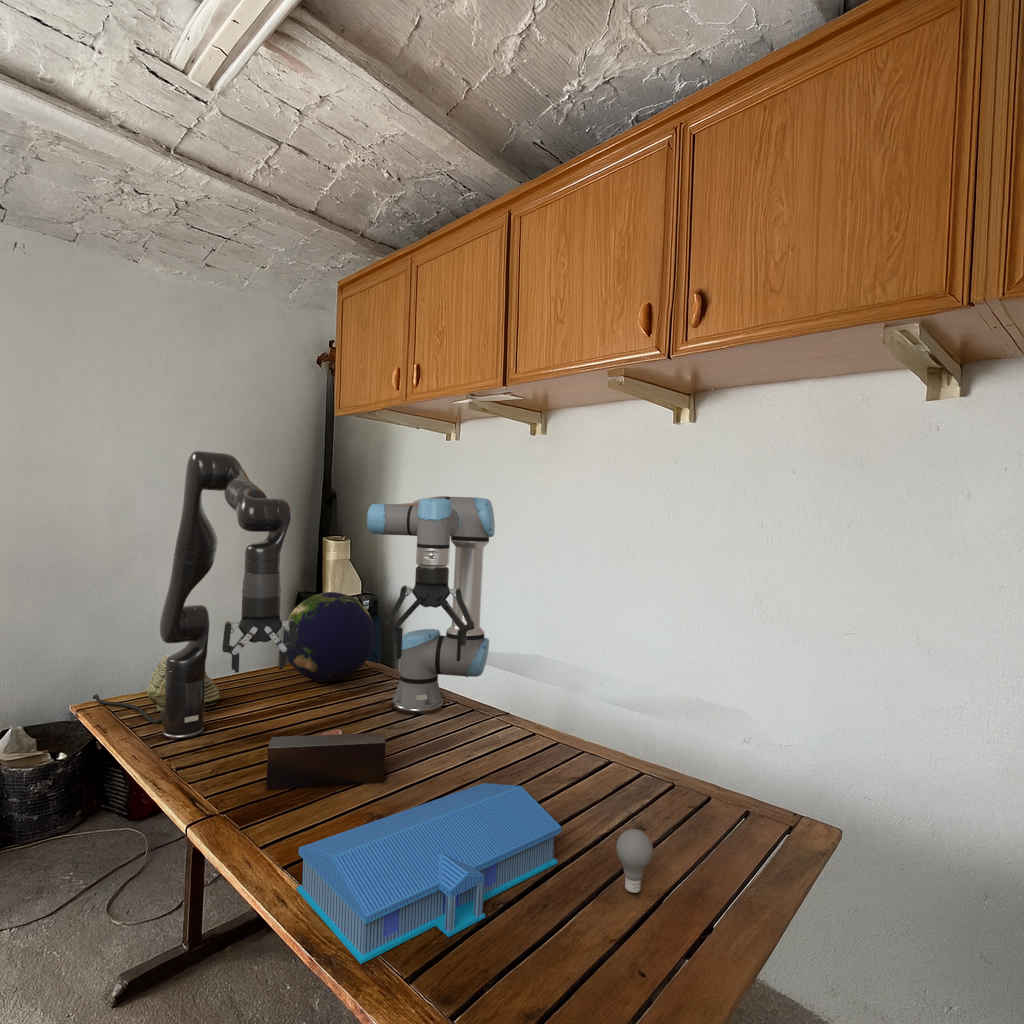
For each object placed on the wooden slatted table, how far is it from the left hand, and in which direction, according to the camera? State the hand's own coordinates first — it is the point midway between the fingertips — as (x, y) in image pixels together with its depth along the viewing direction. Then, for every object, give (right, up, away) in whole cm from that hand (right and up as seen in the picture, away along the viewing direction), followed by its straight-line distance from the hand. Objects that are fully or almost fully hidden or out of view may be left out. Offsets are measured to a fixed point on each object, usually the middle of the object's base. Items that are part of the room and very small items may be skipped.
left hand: (258, 670), depth 133 cm
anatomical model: (+3, -26, +25) cm, 36 cm away
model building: (+41, -29, -27) cm, 57 cm away
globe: (-10, -24, +84) cm, 88 cm away
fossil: (-43, -24, +52) cm, 72 cm away
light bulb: (+73, -30, -27) cm, 84 cm away
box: (+12, -27, +9) cm, 31 cm away
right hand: (+34, 0, +12) cm, 36 cm away
